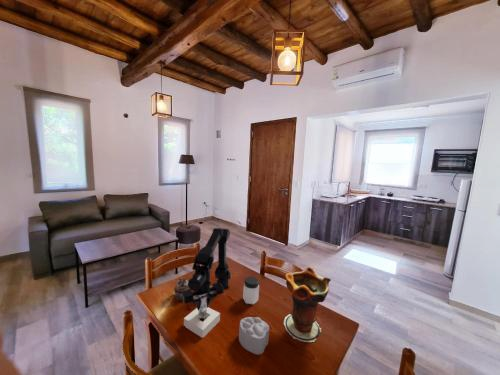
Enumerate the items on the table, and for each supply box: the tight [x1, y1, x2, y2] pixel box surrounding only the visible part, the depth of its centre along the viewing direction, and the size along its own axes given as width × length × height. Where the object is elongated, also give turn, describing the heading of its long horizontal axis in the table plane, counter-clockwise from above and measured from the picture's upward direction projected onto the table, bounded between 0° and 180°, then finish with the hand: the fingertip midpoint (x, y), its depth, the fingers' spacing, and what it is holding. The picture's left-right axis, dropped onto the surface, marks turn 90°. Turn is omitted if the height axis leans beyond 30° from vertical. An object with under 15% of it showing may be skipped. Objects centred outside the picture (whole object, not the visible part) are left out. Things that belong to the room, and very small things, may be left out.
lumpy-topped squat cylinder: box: [238, 316, 270, 355], centre depth 90 cm, size 10×13×9 cm
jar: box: [242, 275, 260, 305], centre depth 117 cm, size 9×8×12 cm
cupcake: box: [173, 278, 190, 302], centre depth 116 cm, size 10×10×10 cm
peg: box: [198, 294, 208, 316], centre depth 97 cm, size 4×4×9 cm
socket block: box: [183, 306, 221, 339], centre depth 98 cm, size 12×12×4 cm
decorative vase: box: [283, 266, 332, 343], centre depth 99 cm, size 21×23×28 cm
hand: (202, 308), depth 97 cm, fingers closed on peg, 4 cm apart
